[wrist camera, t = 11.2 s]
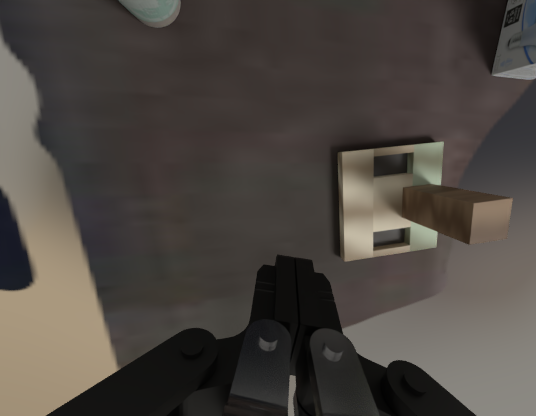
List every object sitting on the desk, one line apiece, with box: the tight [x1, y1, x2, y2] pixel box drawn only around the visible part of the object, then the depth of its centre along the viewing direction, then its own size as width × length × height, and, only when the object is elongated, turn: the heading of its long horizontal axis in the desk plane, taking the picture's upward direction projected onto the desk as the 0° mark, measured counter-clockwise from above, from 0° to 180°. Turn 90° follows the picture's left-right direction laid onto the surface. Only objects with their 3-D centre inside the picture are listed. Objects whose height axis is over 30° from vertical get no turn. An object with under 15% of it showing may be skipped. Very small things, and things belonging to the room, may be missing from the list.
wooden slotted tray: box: [338, 142, 444, 262], centre depth 37 cm, size 16×15×2 cm
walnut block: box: [402, 184, 513, 245], centre depth 32 cm, size 4×4×11 cm
